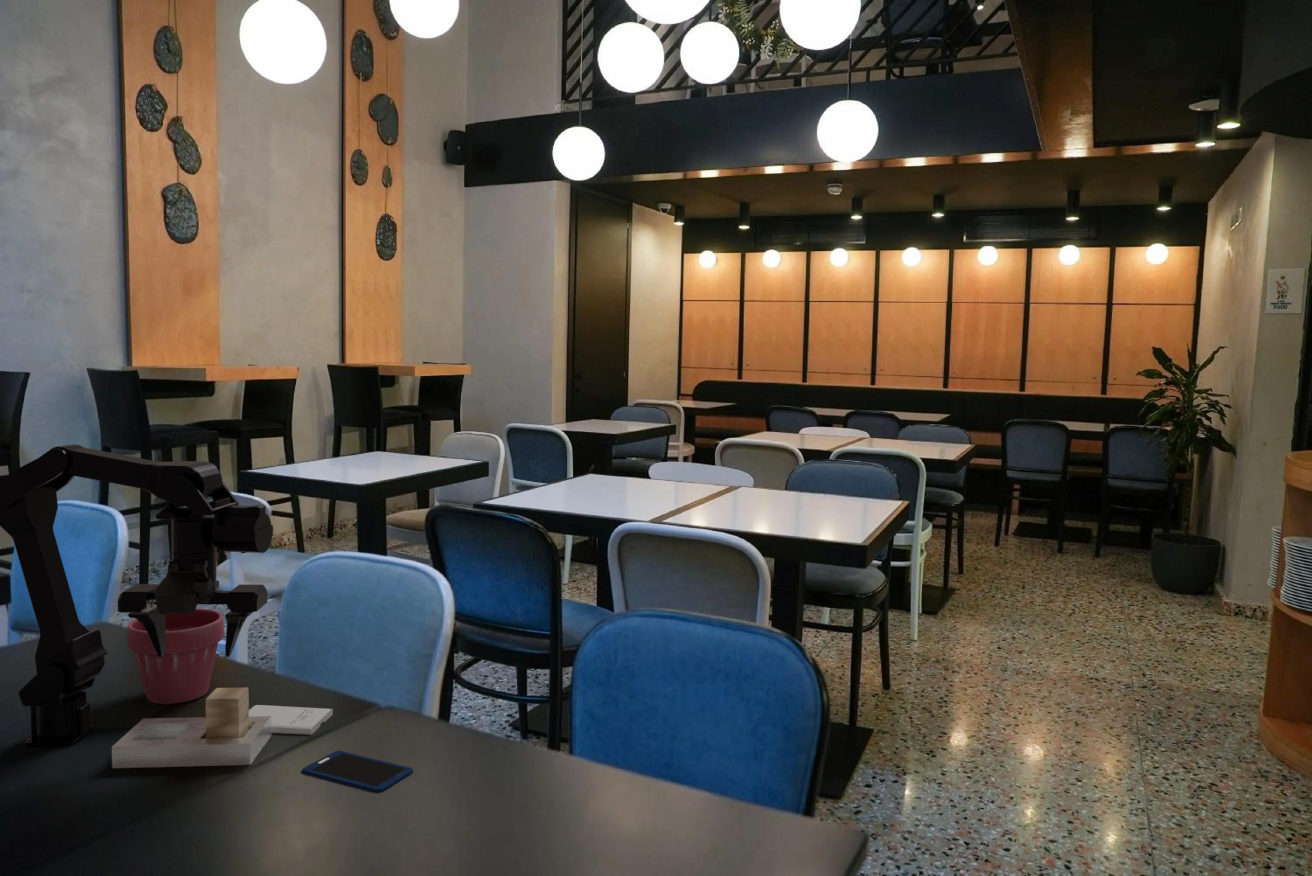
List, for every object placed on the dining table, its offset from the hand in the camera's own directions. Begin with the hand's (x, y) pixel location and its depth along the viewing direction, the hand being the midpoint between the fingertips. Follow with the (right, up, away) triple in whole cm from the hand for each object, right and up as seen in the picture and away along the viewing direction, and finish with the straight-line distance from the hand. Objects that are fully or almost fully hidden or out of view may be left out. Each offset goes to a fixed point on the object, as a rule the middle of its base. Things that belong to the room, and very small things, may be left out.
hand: (195, 656), depth 132 cm
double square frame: (+1, -13, -2) cm, 13 cm away
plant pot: (-13, -11, +20) cm, 26 cm away
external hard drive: (+9, -13, +10) cm, 19 cm away
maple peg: (+5, -13, -1) cm, 14 cm away
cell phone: (+26, -15, -7) cm, 30 cm away
